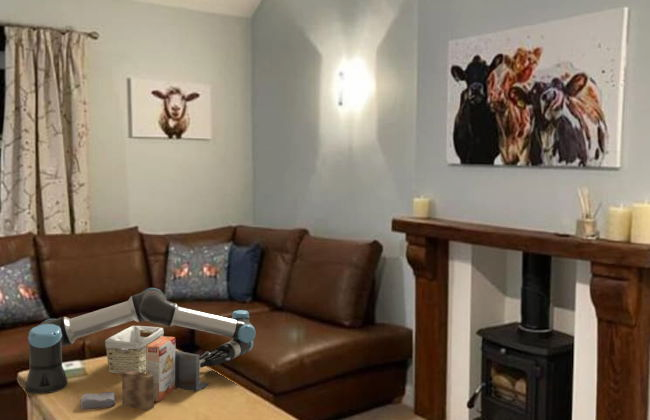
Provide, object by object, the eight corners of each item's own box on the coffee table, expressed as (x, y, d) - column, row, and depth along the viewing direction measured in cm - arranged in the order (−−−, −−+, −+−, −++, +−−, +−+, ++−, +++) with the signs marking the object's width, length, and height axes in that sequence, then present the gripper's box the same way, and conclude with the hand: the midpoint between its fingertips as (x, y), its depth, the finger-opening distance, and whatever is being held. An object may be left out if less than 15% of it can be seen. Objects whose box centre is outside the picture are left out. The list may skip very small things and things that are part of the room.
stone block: (82, 405, 236) (79, 410, 227) (83, 392, 237) (80, 396, 227) (116, 403, 239) (114, 408, 230) (116, 390, 240) (115, 395, 230)
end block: (122, 404, 233) (122, 372, 232) (128, 401, 235) (128, 369, 234) (147, 410, 227) (147, 377, 226) (153, 407, 230) (153, 375, 229)
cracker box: (160, 402, 235) (159, 346, 233) (145, 400, 236) (144, 345, 235) (176, 389, 249) (176, 336, 247) (162, 387, 250) (161, 335, 248)
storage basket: (139, 377, 262) (138, 342, 260) (103, 374, 265) (102, 339, 264) (165, 359, 285) (165, 327, 284) (132, 356, 288) (131, 324, 287)
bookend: (167, 385, 252) (167, 351, 251) (180, 379, 259) (180, 345, 258) (196, 391, 246) (196, 356, 244) (209, 385, 253) (208, 350, 252)
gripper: (215, 341, 278) (180, 355, 257) (240, 345, 273) (206, 360, 252) (215, 357, 279) (180, 373, 258) (240, 362, 273) (207, 379, 252)
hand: (193, 367), depth 255 cm, fingers closed
